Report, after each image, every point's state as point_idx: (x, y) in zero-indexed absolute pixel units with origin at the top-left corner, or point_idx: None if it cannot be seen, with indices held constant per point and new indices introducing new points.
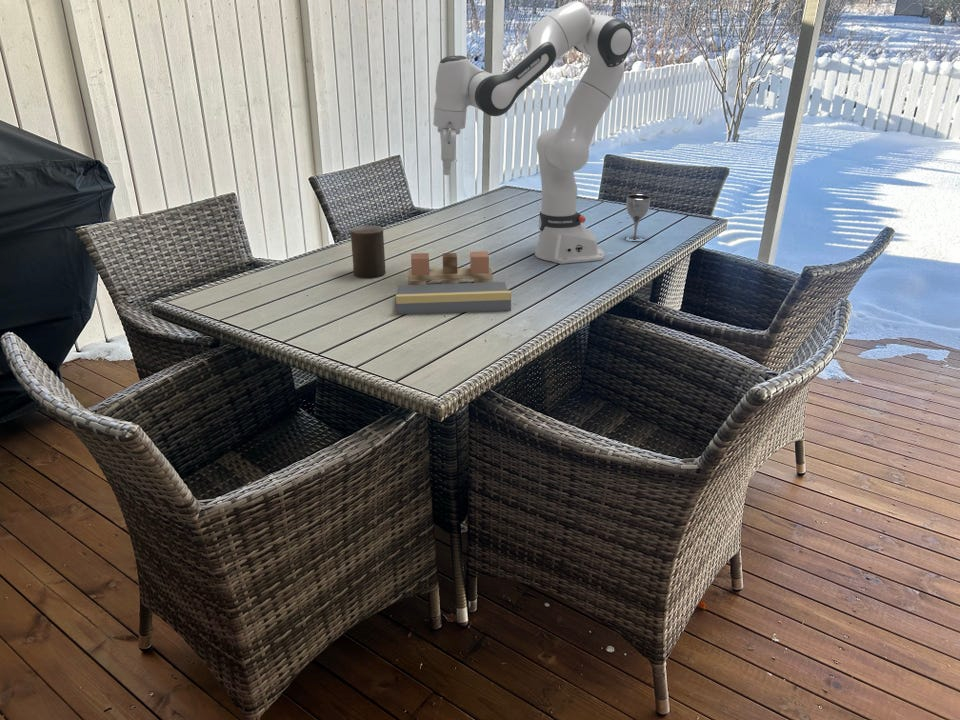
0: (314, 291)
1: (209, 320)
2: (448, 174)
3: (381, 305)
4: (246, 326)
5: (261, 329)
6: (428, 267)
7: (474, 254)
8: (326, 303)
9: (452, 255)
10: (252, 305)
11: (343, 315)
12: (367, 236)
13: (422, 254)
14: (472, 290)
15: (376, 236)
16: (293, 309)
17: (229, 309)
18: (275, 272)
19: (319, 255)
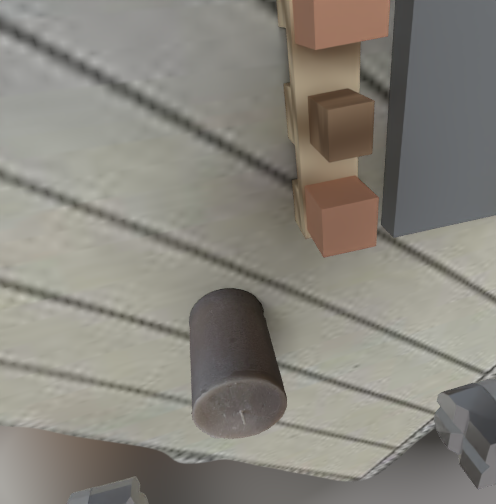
0: (336, 364)
1: (433, 422)
2: (494, 385)
3: (432, 242)
4: (467, 383)
5: (484, 365)
6: (364, 186)
7: (353, 23)
8: (400, 330)
9: (357, 121)
10: (388, 408)
11: (465, 288)
12: (284, 390)
13: (335, 224)
14: (481, 14)
15: (271, 373)
16: (417, 360)
17: (398, 422)
18: (235, 442)
19: (119, 428)
